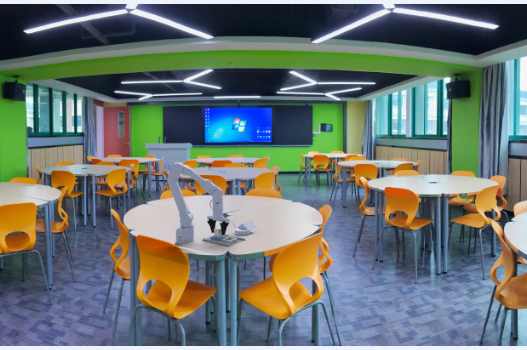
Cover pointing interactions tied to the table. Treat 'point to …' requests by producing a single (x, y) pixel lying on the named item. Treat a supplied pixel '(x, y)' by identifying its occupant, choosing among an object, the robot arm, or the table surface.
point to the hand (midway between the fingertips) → (218, 233)
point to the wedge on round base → (245, 228)
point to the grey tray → (225, 240)
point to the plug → (217, 232)
